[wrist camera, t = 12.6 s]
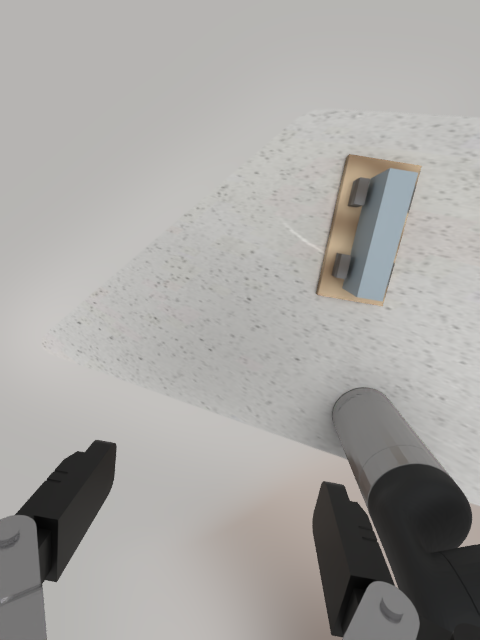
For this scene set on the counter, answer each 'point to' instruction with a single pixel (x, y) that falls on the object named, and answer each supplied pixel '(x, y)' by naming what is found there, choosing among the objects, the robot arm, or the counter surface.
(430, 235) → the counter surface
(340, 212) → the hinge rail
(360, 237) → the blue grey rectangular block
